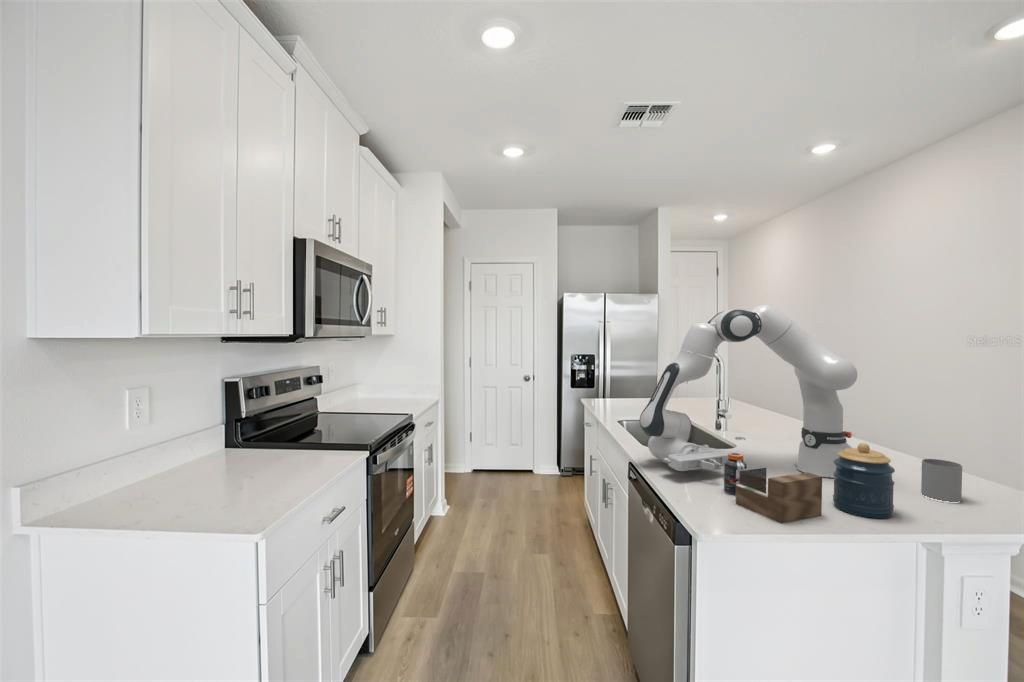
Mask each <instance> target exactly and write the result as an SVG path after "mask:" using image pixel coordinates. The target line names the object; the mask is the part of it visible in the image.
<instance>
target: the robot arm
mask: <svg viewBox="0 0 1024 682" xmlns="http://www.w3.org/2000/svg"><path fill="white" fill-rule="evenodd" d="M754 336H755V337H756V338H758V339H759V340H760V341H761V342H762V343H764V345H765V346H767V347H768V348H769V349H770V350H771V351H772V352H774V353H775V354H776V355H777V356H778V357H779V358H780V359H782V360H783V361H784V362H786V363H788V364H789V365H791V366H792V367H794V370H793V371H794V375H795V376H796V378H797V379H798V383H799V384H798V385H799V388H800V393H801V398H802V406H803V407H802V408H803V410H802V411H803V412H802V413H803V418H802V419H803V420H802V421H803V425H802V426H803V427H801V434H800V435H801V438H802V441H800V442H799V447H798V453H797V454H798V455H797V460H796V461H795V463H794V465H795V466H796V469H797V470H798V471H800V472H801V473H806V472H808V473H812V474H815V475H818V476H822V478H829V477H830V478H832V479H834V475H833V473H834V472H835V471H836V465H835V464H834V460H836V459H838V458H839V456H838V452H840V451H843V450H844V449H847V448H853V447H852V446H851V445H850V444H848V443H847V442H848V441H847V439H851V438H852V435H853V433H852V432H851V431H846V430H844V429H843V428H844V422H843V421H844V407H843V404H842V403H841V401H840V400H839V396H838V392H837V391H842V390H847V389H849V388H851V387H852V386H853V385H854V384H855V383H856V382H857V379H858V370H857V368H856V366H855V365H854V364H853V363H852V362H850V361H849V360H847V359H845V358H843V357H842V356H841V355H839V354H837V353H836V352H835V351H833V350H832V349H831V348H829V347H827V346H826V345H825V344H823V343H821V342H819V341H818V340H816V339H815V338H813V337H812V336H810V335H809V334H808V333H807V332H806V331H804V330H803V329H802V328H801V327H800V326H799V325H797V323H796V322H794V321H793V320H791V319H790V318H789V317H788V316H787V315H786V314H784V313H783V312H781V311H780V310H778V309H776V308H774V307H772V306H771V305H770V304H759V305H757V306H755V307H754V308H752V310H745V309H733V308H731V309H727V310H723V311H720V312H718V313H716V314H715V315H714V316H713V317H712V318H711V319H709V321H707V322H695V323H693V324H692V325H691V326H689V329H688V331H687V333H686V335H685V337H684V339H683V341H682V344H681V347H680V350H679V352H678V355H677V357H676V358H675V360H674V361H673V362H672V363H670V364H668V365H666V368H665V369H664V371H663V372H662V375H661V376H660V378H659V381H658V382H657V384H656V387H655V389H654V391H653V394H652V395H651V397H650V398H649V401H648V403H647V404H646V406H645V407H644V409H643V410H642V412H641V414H640V416H639V426H640V428H641V430H642V432H644V434H645V435H646V436H648V437H649V439H648V441H647V442H648V443H647V448H648V451H649V452H650V454H651V455H652V456H654V457H655V458H656V459H658V460H660V461H662V462H664V463H666V464H668V465H667V466H669V467H670V468H672V469H673V470H676V471H679V472H686V471H694V470H695V471H696V470H702V469H708V470H710V471H711V470H712V471H714V470H715V471H717V470H721V469H722V468H721V467H724V465H725V461H726V460H728V454H729V453H727V452H725V451H722V450H720V449H717V448H714V447H710V446H709V445H708V444H707V443H706V444H705V443H704V444H703V443H693V442H689V440H690V438H691V435H692V429H693V424H692V420H691V419H690V417H689V416H688V415H687V414H686V413H684V412H679V411H675V410H670V409H666V408H667V405H668V403H669V401H670V399H671V397H672V395H673V393H674V391H675V389H676V388H677V387H678V386H679V385H681V384H683V383H685V382H690V381H696V380H699V379H701V378H703V377H705V376H706V375H707V374H708V373H709V371H710V370H711V367H712V365H713V361H714V357H715V355H716V350H717V349H718V348H719V346H720V345H721V343H724V342H728V343H742V342H745V341H747V340H749V339H751V338H752V337H754Z"/></svg>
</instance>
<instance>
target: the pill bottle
mask: <svg viewBox="0 0 1024 682" xmlns="http://www.w3.org/2000/svg"><path fill="white" fill-rule="evenodd" d="M727 454H728V460H726V461H725V465H724V466H723V468H724V471H723V472H724V473H723V475H724V476H723V491H724V492H725V493H726V494H729V495H734V496H736V482H730V479H736V470H740V469H747V468H748V465H747V463H746V462H745V461H744V454H742V453H739V452H729V453H727Z"/></svg>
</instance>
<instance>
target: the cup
mask: <svg viewBox="0 0 1024 682" xmlns="http://www.w3.org/2000/svg"><path fill="white" fill-rule="evenodd" d="M920 481H921V483H920V484H921V485H920V486H921V490H920V492H921V493H922V495H924V496H927V497H929V498H933V499H937V500H942V501H949V502H959V501H961V502H962V497H963V495H962V492H963V491H962V490H963V489H962V487H963V465H962V464H960V463H957V462H954V461H951V460H950V461H949V460H945V459H944V460H943V459H938V458H937V459H936V458H923V459H922V460H921V480H920ZM921 493H920V494H921ZM922 495H921V496H922Z"/></svg>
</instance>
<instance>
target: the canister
mask: <svg viewBox="0 0 1024 682" xmlns="http://www.w3.org/2000/svg"><path fill="white" fill-rule="evenodd" d="M838 456H839V458H838V459H836V460H834V464H835V465H836V471H835V472H834V473H833V475H834V478H833V494H832V500H833V501H832V502H833V505H834V506H835V507H836V508H837V509H839V510H840V509H841V510H840V511H843V512H844V513H847V512H848V514H852V515H855V516H859V517H864V518H870V519H888V518H891V517H893V513H894V512H895V511H894V510H895V506H894V487H895V481H894V480H893V473H895V471H896V470H895V468H894V467H893V466H892V465H890V464H889V463H891V462H892V460H891V458H889V457H888V456H886V455H885V454H884V453H882V452H881V451H877V450H872V449H871V448H870V445H869V444H868V443H864V442H861V443H859V444H858V445H857V447H852V448H847V449H844V450H843V451H840V452H838Z"/></svg>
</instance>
